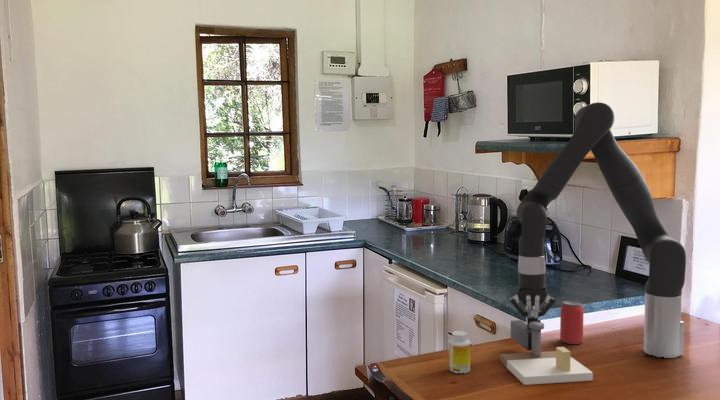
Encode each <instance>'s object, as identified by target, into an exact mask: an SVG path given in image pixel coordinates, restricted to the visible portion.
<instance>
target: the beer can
mask: <svg viewBox="0 0 720 400" xmlns="http://www.w3.org/2000/svg"><path fill="white" fill-rule="evenodd" d="M584 314H585V312H584V307H583V302H580V301H578V300H564V301H562V304H561V307H560V326H559V327H560V328H559V331H560V332H559V333H560V334H559V335H560V336H559V339H560V341H561V343H564V344H567V345H581V344H582V343H583V342H584Z"/></svg>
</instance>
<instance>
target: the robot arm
mask: <svg viewBox="0 0 720 400" xmlns="http://www.w3.org/2000/svg"><path fill="white" fill-rule="evenodd" d="M615 119H616V118H615V113H614V111H613V108H612V107H611V106H610V105H608V104H606V103H603V102H592V103H590V104H587V105H584V106H582V107H581V108H579V109H578V110H577V112H576V113H575V116H574V127H575V130H574V132H573V134H572V136H571V137H570V139H569V140H568V141H567V143H566V144H565V146H564V147H563V148H562V149H561V150H560V152H559V153H558V154H556V156H555V157H554V158H553V160H552V161H551V162H550V163H549V165H548V166H547V167H546V168H545V170H544V171H543V172H542V175H540V177H539V179H538V180H537V182H536V184H535V185H534V187H533V188H532V189H530V191H529V192H528V193H527V194H526V195H525V196H524V197H523V199H522V200H521V201H520V203H519V205H518V206H517V208H516V212H515V213H516V218H517V220H518V221H519V222H520V223H521V235H520V237H519V238H518V239H519V240H518V261H517V263H518V264H517V266H518V267H517V271H518V274H517V275H518V277H517V278H518V288H517V291H516V293H515V295H514V296H511V297H509V300H510V303H511V304H512V306H513V307H514V308H515V309H516V310H517V311H518V313H519V314H520V315H521V316H522V317H526V318H527V319H526V321H527V323H526V324H527V325H528V326H529V323H530V322H539V318H540V317H544V316H545V315H546V314H547V313H548V312H549V310H550V309H551V308H552V307H553V305H554V304H555V303H556V300H555V297H553V296H550V295H549V294H548V293H549V292H548V291H547V289H546V288H547V282H546V274H547V273H546V271H547V268H546V259H545V257H546V256H545V237H546V230H547V229H546V228H547V222H548V219H547V217H548V216H547V211H546V209H547V207H548V206H549V205H550V203H551V202H553V201H555V200H557V198H558V197H559V196H560V194H561V193H562V192H563V190H564V189H565V188H566V186H567V185H568V182H570V180H571V178H572V177H573V175H574V174H575V172H576V171H577V169H578V167H580V165H581V163H583V160H584V159H585V158H586V157H587V155H588V154H590V152H591V153H592V155H593V157H594V159H595V161H596V163H597V165H598V168H599V170H600V172H601V174H602V176H603V178H604V180H605V182H606V184H607V187H608V188H609V190H610V192H611V195H613V198H614V200H615V201H616V203H617V205H618V207H619V209H620V210H621V211H622V213H623V215H624V216H625V218H626V219H627V221H628V223H629V224H630V225H631V228H632V230H633V231H634V233H635V235H636V238H637V241H638V244H639V246H640V249H641V251H642V255H643V257H644V258H645V261H647V263H648V264H649V265H648V267H649V268H648V280H647V281H646V282H645V285H644V286H645V287H644V321H643V322H644V324H643V325H644V327H643V328H644V329H643V352H644V353H645V354H647V355H650V356H651V355H653V356H652V357H655V356H656V358H661V357H664V359H675V358H678V357H681V356H684V339H685V337H684V335H685V334H684V333H685V332H684V331H685V323H684V321H682V292H683V287H684V285H685V279H686V266H687V265H686V264H687V263H686V262H687V255H686V249H685V247H684V246H683V244H682V243H680V242H679V241H678V240H676V239H675V238H672V237H671V235H669V233H668V232H667V231H666V229H665V227H664V226H663V224H662V222H661V221H660V219H659V217H658V215H657V211H656V209H655V205H654V200H653V195H652V193H651V192H652V191H650V188H649V186H648V183H647V182H646V180H645V177H644V176H643V174H642V172H641V170H640V169H639V168H638V166H637V165H636V164H635V162H634V161H633V160H632V159H631V158H630V157H629V155H627V153H625V151H624V150H623V149H622V148H621V146H620V145H619V144H618V142H617V140H616V139H615V136H614V134H613V132H612V130H611V128H612V127H613V125H614V123H615ZM520 301H521V302H522V304H523V305H524V306H525V309H526V310H525V309H524V308H523V307H522V305H520V304H519V303H520ZM544 301H545V303H544V305H542V303H543V302H544ZM541 305H542V307H541V308H540V306H541ZM539 308H540V309H539Z"/></svg>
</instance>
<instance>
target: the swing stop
mask: <svg viewBox="0 0 720 400" xmlns="http://www.w3.org/2000/svg"><path fill="white" fill-rule="evenodd" d="M510 338H511V339H512V340H513V341H515V342H516V343H517V344H519V345H520V346H522V348H524V349H525V350H526V351H532V329H531V328H529V326H528V325H527V323H525V322H524V321H523V320H521V319H517V320H516V319H515V320H514V319H513V320H510Z"/></svg>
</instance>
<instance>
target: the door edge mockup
mask: <svg viewBox="0 0 720 400" xmlns="http://www.w3.org/2000/svg"><path fill="white" fill-rule="evenodd" d="M529 328H531V329H532V350H531V352H518V353H517V352H515V353H502V354H500V355H499V357H500V359H499V361H500V363H502V364H503V366H504V367H505V368H507V370H508V371H509V372H511V374H513V376H514V377H516V379H518V380H519V382H521V383H522V384H523V386H526V385H539V384H540V385H543V384H556V383H557V384H560V383H573V382H574V383H575V382H588V381H589V382H590V381H593V378H594V377H593V376H594V374H593V373H594V372H592V371H591V370H590V369H589V368H587V367H586V366H584V365H583V364H582V363H581V362H579V361H578V360H576V359H575V358H574V357H572V356H571V355H572V353H571V351H570V350H569V349H567V348H566V347H564V346H556V347H555V349H556V350H551V351H542V349H541V347H542V346H541V345H542V342H541V341H542V330H544V329H545V324H544V323H543V322H541V321H538V322H530V323H529Z"/></svg>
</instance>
